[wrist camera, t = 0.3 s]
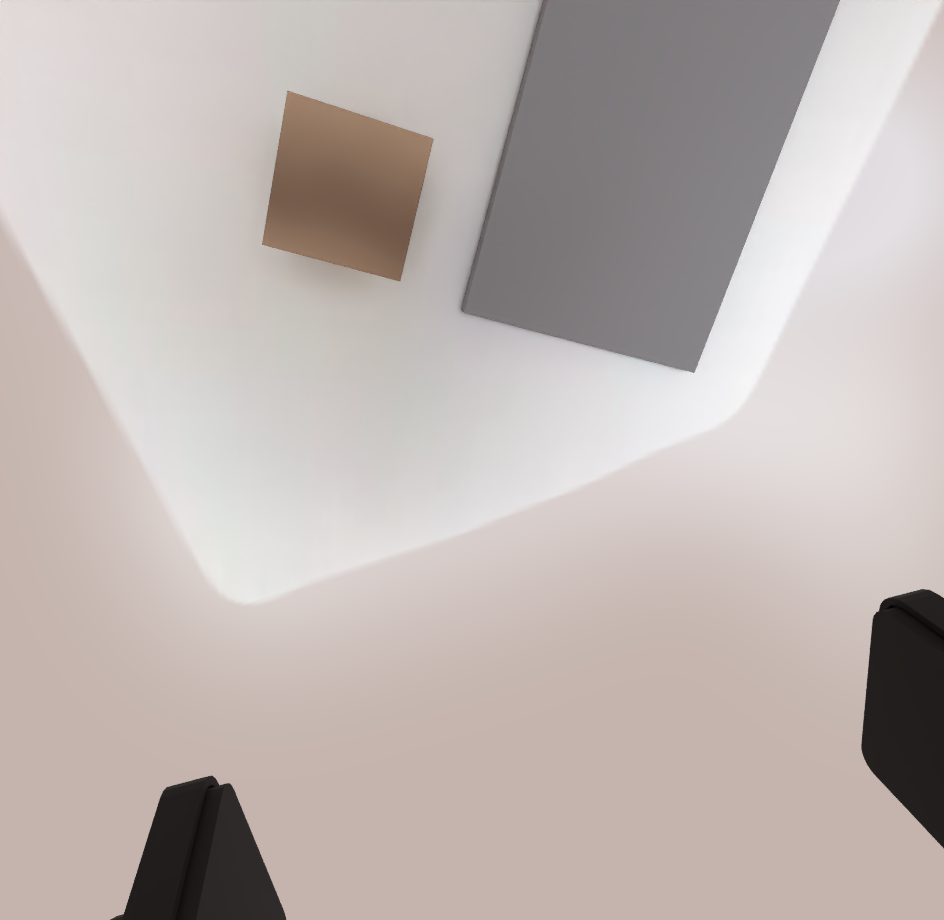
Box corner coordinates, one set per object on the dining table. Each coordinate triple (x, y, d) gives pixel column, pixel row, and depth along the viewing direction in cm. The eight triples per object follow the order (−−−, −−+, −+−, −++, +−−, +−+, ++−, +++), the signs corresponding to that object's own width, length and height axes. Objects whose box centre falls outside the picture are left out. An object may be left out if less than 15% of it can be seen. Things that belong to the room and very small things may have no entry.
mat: (594, -191, 28) (602, -204, 27) (852, -63, 32) (867, -71, 31) (461, 309, 35) (464, 312, 34) (686, 368, 39) (694, 372, 38)
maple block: (304, 123, 31) (287, 90, 22) (408, 156, 32) (433, 138, 23) (285, 231, 32) (262, 244, 23) (385, 259, 34) (400, 281, 24)
